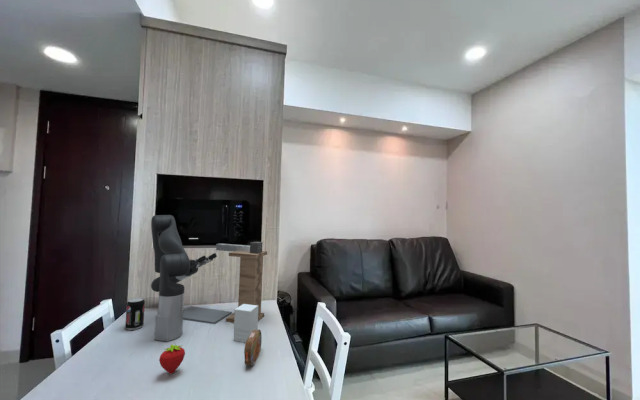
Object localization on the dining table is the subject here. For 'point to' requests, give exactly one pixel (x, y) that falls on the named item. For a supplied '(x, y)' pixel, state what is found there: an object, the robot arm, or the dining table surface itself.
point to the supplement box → (245, 321)
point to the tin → (252, 347)
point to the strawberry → (172, 358)
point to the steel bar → (241, 247)
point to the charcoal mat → (204, 314)
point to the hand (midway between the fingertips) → (210, 256)
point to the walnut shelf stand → (249, 280)
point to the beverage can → (135, 313)
